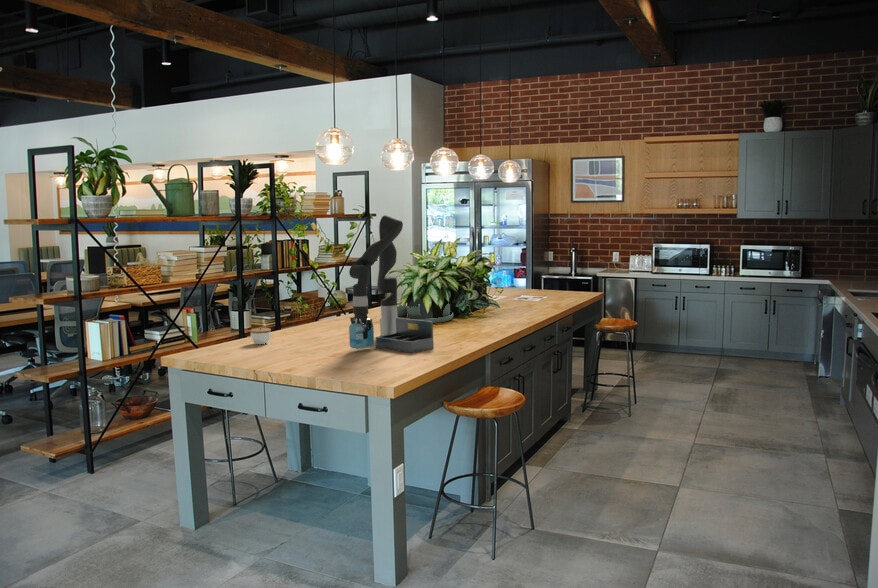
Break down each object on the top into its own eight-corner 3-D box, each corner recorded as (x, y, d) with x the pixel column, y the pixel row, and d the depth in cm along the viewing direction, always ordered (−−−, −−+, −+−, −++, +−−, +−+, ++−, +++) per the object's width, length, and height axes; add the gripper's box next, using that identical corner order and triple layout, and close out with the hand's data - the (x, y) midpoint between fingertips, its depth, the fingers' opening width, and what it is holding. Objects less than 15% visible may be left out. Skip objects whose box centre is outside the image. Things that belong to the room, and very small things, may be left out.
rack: (376, 347, 358) (375, 321, 356) (397, 342, 370) (397, 317, 368) (412, 353, 342) (411, 326, 340) (433, 348, 354) (432, 321, 352)
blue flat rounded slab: (355, 349, 346) (354, 325, 344) (349, 348, 349) (348, 324, 348) (374, 345, 354) (373, 322, 352) (368, 344, 357) (368, 321, 356)
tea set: (440, 313, 476) (440, 289, 474) (461, 321, 438) (461, 295, 436) (384, 317, 463) (383, 292, 461) (400, 326, 425) (399, 299, 424)
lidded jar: (266, 345, 370) (265, 328, 369) (247, 345, 372) (246, 328, 371) (274, 342, 381) (274, 325, 380) (256, 341, 383) (255, 325, 382)
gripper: (345, 304, 351) (346, 337, 353) (364, 306, 341) (366, 341, 343) (356, 302, 356) (357, 335, 358) (375, 304, 347) (377, 338, 349)
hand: (361, 338), depth 351 cm, fingers closed on blue flat rounded slab, 4 cm apart
